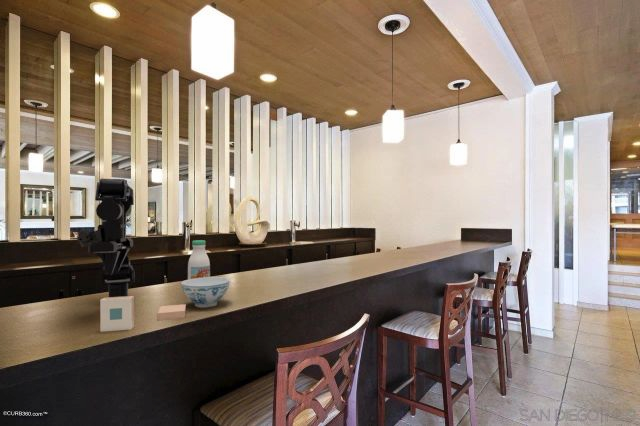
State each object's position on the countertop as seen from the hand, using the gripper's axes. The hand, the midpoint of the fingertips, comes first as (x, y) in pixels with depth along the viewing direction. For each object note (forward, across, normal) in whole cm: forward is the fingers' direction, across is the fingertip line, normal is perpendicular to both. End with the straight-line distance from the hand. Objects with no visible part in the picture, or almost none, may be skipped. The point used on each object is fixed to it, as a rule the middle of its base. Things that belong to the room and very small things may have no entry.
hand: (112, 273), depth 101 cm
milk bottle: (+12, -20, +22) cm, 32 cm away
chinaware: (+12, -4, +26) cm, 29 cm away
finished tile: (+12, +6, +18) cm, 22 cm away
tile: (+12, +15, +6) cm, 20 cm away
